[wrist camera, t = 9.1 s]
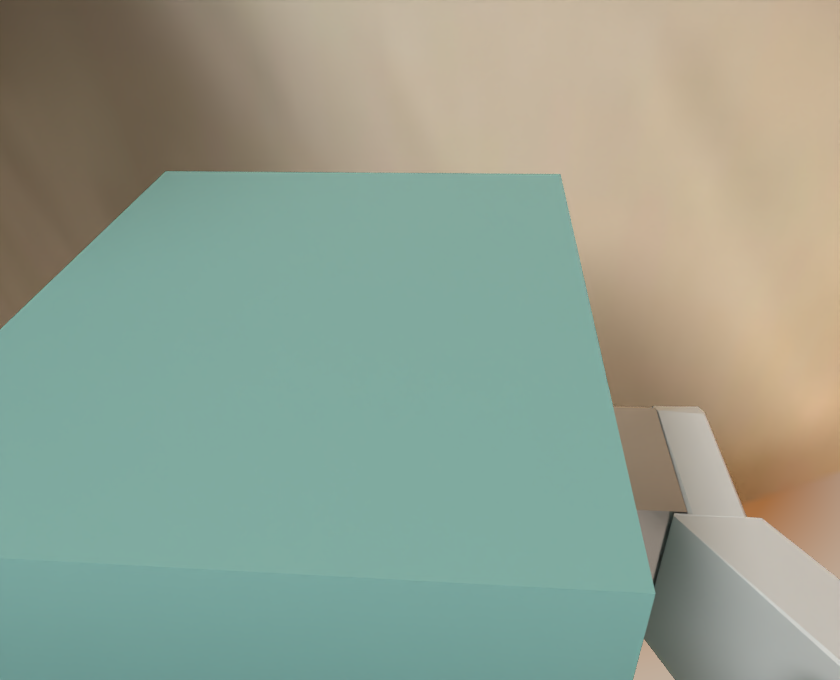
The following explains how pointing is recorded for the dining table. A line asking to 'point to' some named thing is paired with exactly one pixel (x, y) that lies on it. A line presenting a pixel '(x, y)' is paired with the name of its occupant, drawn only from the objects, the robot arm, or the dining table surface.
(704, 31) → the dining table surface
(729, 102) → the dining table surface
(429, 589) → the teal brick
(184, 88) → the dining table surface
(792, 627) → the robot arm
